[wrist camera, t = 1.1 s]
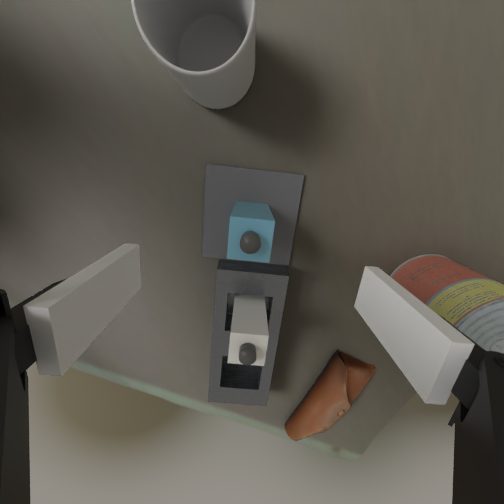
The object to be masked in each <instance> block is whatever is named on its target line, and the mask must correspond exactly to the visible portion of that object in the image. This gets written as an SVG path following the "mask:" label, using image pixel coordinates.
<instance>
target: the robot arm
mask: <svg viewBox="0 0 504 504" xmlns="http://www.w3.org/2000/svg"><path fill="white" fill-rule="evenodd" d="M140 289H141V269H140V249H139V244H130V243H125V244H123V245H122V246H120V247H118V248H117V249H115V250H113V251H112V252H110V253H109V254H107V255H105V256H104V257H102V258H100V259H99V260H97V261H96V262H94V263H92V264H91V265H89V266H87V267H86V268H84V269H83V270H81V271H79V272H78V273H76V274H74V275H73V276H71V277H69V278H68V279H64V280H62V281H59V282H56V283H53V284H51V285H50V286H48V287H46V288H45V289H43V291H40V292H38V293H36V294H35V295H34V296H31V297H30V298H28V299H26V300H24V301H23V302H21V303H19V304H18V305H16V306H14V307H13V308H11V309H10V305H9V301H8V297H7V293H6V291H5V290H3V289H0V504H30V466H29V465H30V461H29V405H28V376H27V372H26V370H27V369H28V368H29V367H30V366H31V365H32V364H33V363H34V362H35V361H36V363H37V368H38V372H39V375H51V376H62V375H63V374H64V373H65V372H66V371H67V370H68V369H69V368H70V366H71V365H72V364H73V363H74V362H75V361H76V360H77V359H78V358H79V356H80V355H81V354H82V353H83V352H84V351H85V350H86V349H87V348H88V346H89V345H90V344H91V343H92V342H93V341H94V340H95V339H96V338H97V336H98V335H99V334H100V333H101V332H102V331H103V330H104V329H105V328H106V326H107V325H108V324H109V323H110V322H111V321H112V320H113V319H114V318H115V316H116V315H117V314H118V313H119V312H120V311H121V310H122V309H123V308H124V307H125V305H126V304H127V303H128V302H129V301H130V300H131V299H132V298H133V297H134V295H135V294H136V293H137V292H138V291H139V290H140ZM354 307H355V308H356V310H357V311H358V313H359V314H360V315H361V317H362V318H363V319H364V321H365V322H366V323H367V325H368V326H369V328H370V329H371V330H372V332H373V333H374V334H375V336H376V337H377V338H378V340H379V341H380V343H381V344H382V345H383V347H384V348H385V349H386V351H387V352H388V353H389V355H390V356H391V357H392V359H393V360H394V362H395V363H396V364H397V366H398V367H399V368H400V370H401V371H402V372H403V374H404V375H405V377H406V378H407V379H408V381H409V382H410V383H411V385H412V386H413V387H414V389H415V390H416V392H417V393H418V394H419V396H420V397H421V398H422V400H423V401H424V402H425V403H426V404H440V405H445V404H446V402H447V400H448V398H449V396H450V394H451V392H452V393H453V394H454V395H455V396H456V397H457V398H458V399H459V400H460V402H459V404H458V406H457V408H456V410H455V412H454V414H453V415H452V417H451V419H450V421H449V423H448V425H450V426H452V425H453V424H454V423H455V444H454V446H455V447H454V471H453V473H454V474H453V501H452V504H504V354H503V353H500V352H496V351H486V350H484V349H483V348H482V347H480V346H479V345H478V344H477V343H475V342H474V341H473V340H472V339H470V338H469V337H468V336H466V335H465V334H464V333H463V332H460V330H459V329H458V328H456V327H455V326H452V324H451V323H450V322H449V321H447V320H446V319H445V318H444V317H442V316H440V315H438V314H436V313H435V312H434V311H433V310H431V309H430V308H429V307H428V306H426V305H425V304H424V303H423V302H421V301H420V300H419V299H417V298H416V297H415V296H414V295H412V294H411V293H410V292H409V291H407V290H406V289H405V288H404V287H402V286H401V285H400V284H399V283H397V282H396V281H395V280H394V279H392V278H391V277H390V276H389V275H387V274H386V273H385V272H384V271H382V270H381V269H380V268H379V267H372V266H365V269H364V272H363V276H362V280H361V283H360V287H359V291H358V294H357V298H356V301H355V305H354Z"/></svg>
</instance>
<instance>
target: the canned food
mask: <svg viewBox="0 0 504 504" xmlns="http://www.w3.org/2000/svg"><path fill="white" fill-rule="evenodd" d="M390 277H391V278H392V279H394V280H395V281H396V282H397V283H399V284H400V285H401V286H402V287H404V288H405V289H406V290H407V291H409V292H410V293H411V294H412V295H414V296H415V297H416V298H417V299H419V300H420V301H421V302H423V303H424V304H425V305H426V306H428V307H429V308H430V309H431V310H433V311H434V312H435V313H436V314H438V315H440V316H442V317H444V318H445V319H446V320H447V321H449V322H450V323H451V324H452V326H455V327H456V328H458V329H459V330H460V332H463V333H464V334H465V335H466V336H468V337H469V338H470V339H472V340H473V341H474V342H475V343H477V344H478V345H479V346H480V347H482V348H483V349H484V350H486V351H496V352H500V353H503V354H504V285H503V284H501V283H499V282H497V281H495V280H492V279H490V278H488V277H486V276H484V275H482V274H480V273H478V272H475V271H473V270H471V269H469V268H467V267H465V266H463V265H461V264H458V263H456V262H454V261H453V260H451V259H449V258H447V257H445V256H442V255H437V254H425V255H420V256H417V257H414V258H411V259H409V260H407V261H406V262H404V263H403V264H401V265H400V266H399V267H397V268H396V269H395V270H394V271H393V273H392V274H391V275H390Z"/></svg>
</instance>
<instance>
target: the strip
mask: <svg viewBox="0 0 504 504" xmlns="http://www.w3.org/2000/svg"><path fill="white" fill-rule="evenodd" d="M288 281H289V274H288V271H287V268H286V265H279V264H269V263H259V262H248V261H238V260H228V259H220V261H219V264H218V267H217V273H216V289H215V304H214V319H213V334H212V349H211V364H210V379H209V394H208V402H219V403H233V404H246V405H260V406H267V401H268V396H269V390H270V384H271V378H272V373H273V367H274V361H275V355H276V350H277V344H278V338H279V332H280V327H281V321H282V315H283V309H284V304H285V298H286V292H287V286H288ZM235 293H236V294H247V295H258V296H265V305H266V314H267V323H268V332H269V338H268V345H267V351H266V357H265V364H264V366H257V365H244V364H232V363H228V353H229V342H230V332H231V323H232V315H233V307H234V298H235Z"/></svg>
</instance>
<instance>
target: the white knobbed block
mask: <svg viewBox="0 0 504 504" xmlns="http://www.w3.org/2000/svg"><path fill="white" fill-rule="evenodd" d="M268 338H269V332H268V323H267V314H266V305H265V296H258V295H247V294H236V293H235V298H234V307H233V315H232V323H231V332H230V342H229V353H228V363H232V364H244V365H257V366H264V364H265V357H266V351H267V345H268Z"/></svg>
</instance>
